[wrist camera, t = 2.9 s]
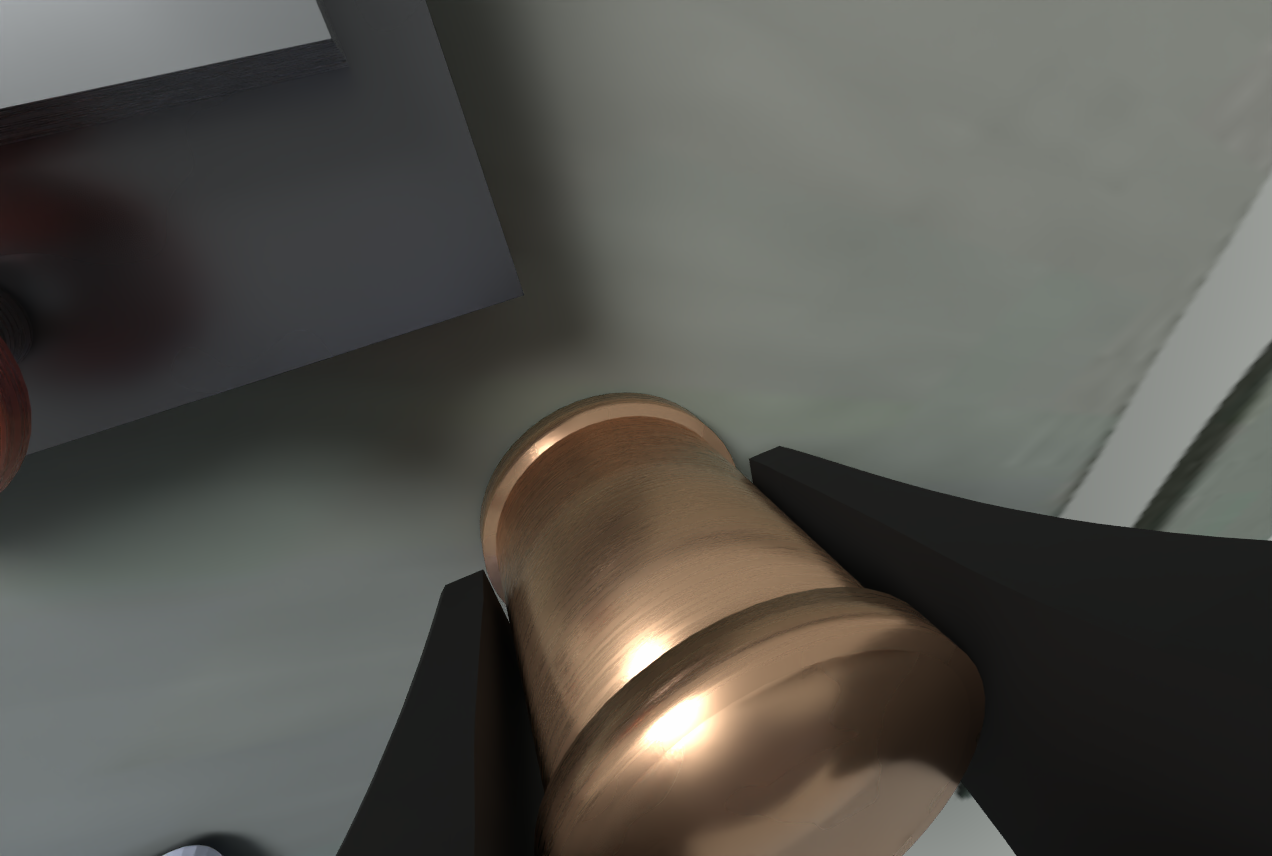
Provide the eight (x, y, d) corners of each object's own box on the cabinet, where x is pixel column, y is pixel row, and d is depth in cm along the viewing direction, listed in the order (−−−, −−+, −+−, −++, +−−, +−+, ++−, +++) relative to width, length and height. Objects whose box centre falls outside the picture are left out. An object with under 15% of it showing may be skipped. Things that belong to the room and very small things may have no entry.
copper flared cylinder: (740, 556, 12) (970, 829, 7) (531, 651, 11) (623, 1045, 6) (703, 354, 10) (1004, 545, 5) (435, 453, 9) (458, 822, 4)
